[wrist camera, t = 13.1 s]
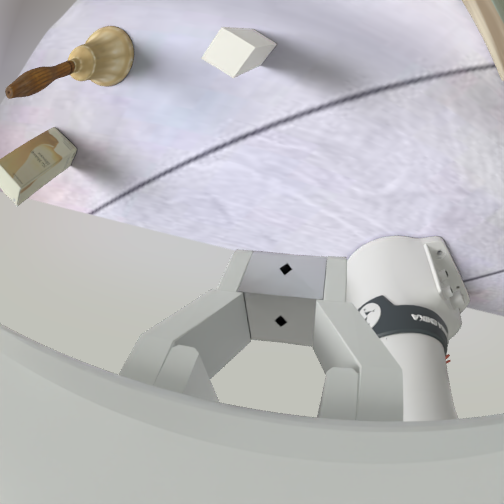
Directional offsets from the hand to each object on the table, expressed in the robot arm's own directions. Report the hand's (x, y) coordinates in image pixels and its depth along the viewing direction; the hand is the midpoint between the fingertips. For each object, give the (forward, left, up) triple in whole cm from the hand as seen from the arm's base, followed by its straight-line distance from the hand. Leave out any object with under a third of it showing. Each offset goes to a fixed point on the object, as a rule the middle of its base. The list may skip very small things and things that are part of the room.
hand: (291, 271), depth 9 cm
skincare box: (+27, +27, -27) cm, 47 cm away
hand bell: (+24, +10, -27) cm, 38 cm away
